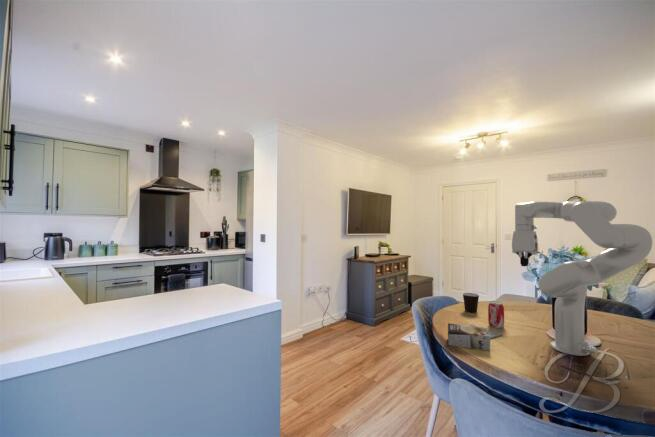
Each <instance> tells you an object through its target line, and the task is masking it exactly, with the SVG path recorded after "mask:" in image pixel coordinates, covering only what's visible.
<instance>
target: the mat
mask: <svg viewBox="0 0 655 437" xmlns="http://www.w3.org/2000/svg"><path fill="white" fill-rule="evenodd" d="M467 326H476V327H479V326H477V325H474V324H469V325H467ZM488 332H489V335H490V340H492V339H495V338H499V337H501V336H502V334H501V333H498V332H495V331H492V330H489V329H488Z"/></svg>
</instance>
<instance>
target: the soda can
mask: <svg viewBox="0 0 655 437" xmlns="http://www.w3.org/2000/svg"><path fill="white" fill-rule="evenodd" d="M487 306H488V307H487V308H488V310H487V315H488V316H487V318H488V319H487V321H488V322H487V323H488V325H489V326H490V327H492V328H496V329H502V328H504V327H505V307H504V305H503V302H501V301H496V300H493V301H489V303H488V305H487Z"/></svg>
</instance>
